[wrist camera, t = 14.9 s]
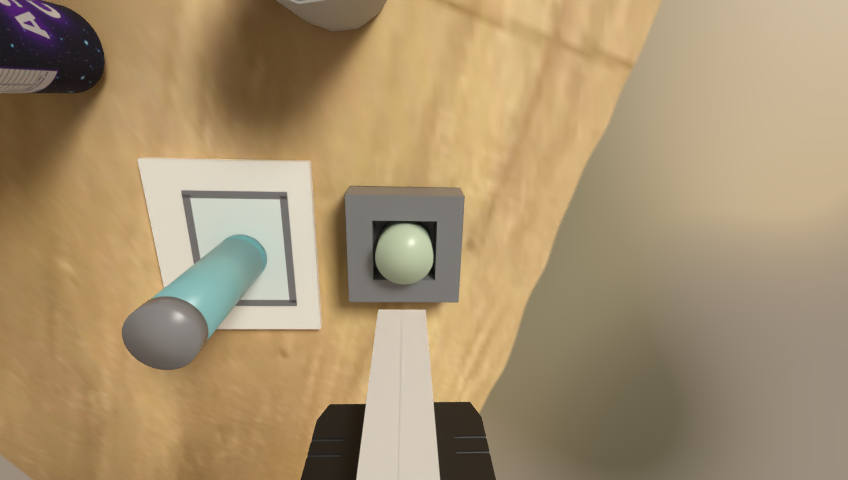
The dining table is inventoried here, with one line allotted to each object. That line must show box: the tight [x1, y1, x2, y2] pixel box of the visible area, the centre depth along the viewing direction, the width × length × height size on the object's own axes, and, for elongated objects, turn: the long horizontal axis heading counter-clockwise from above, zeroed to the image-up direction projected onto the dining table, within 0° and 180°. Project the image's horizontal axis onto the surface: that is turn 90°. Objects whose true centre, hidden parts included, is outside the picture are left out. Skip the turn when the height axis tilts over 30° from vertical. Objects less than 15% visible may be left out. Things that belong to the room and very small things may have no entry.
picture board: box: [137, 158, 322, 329], centre depth 35 cm, size 15×13×1 cm
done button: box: [375, 221, 433, 284], centre depth 33 cm, size 4×4×3 cm
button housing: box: [345, 186, 465, 302], centre depth 34 cm, size 9×9×3 cm
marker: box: [122, 234, 267, 370], centre depth 29 cm, size 4×4×12 cm
